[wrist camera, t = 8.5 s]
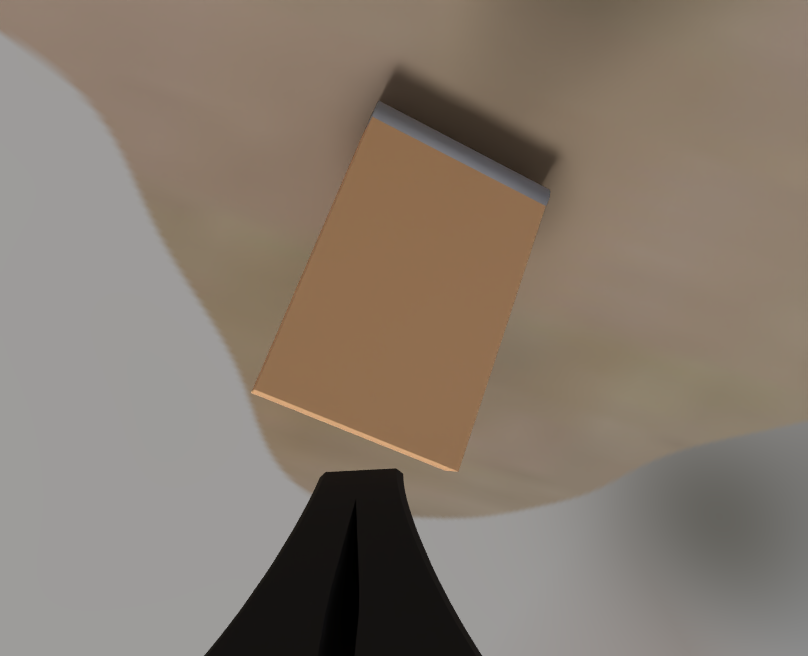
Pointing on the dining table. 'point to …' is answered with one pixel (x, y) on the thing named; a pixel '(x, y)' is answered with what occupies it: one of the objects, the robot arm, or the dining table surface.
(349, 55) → the dining table surface
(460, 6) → the dining table surface
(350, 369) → the latch flap
